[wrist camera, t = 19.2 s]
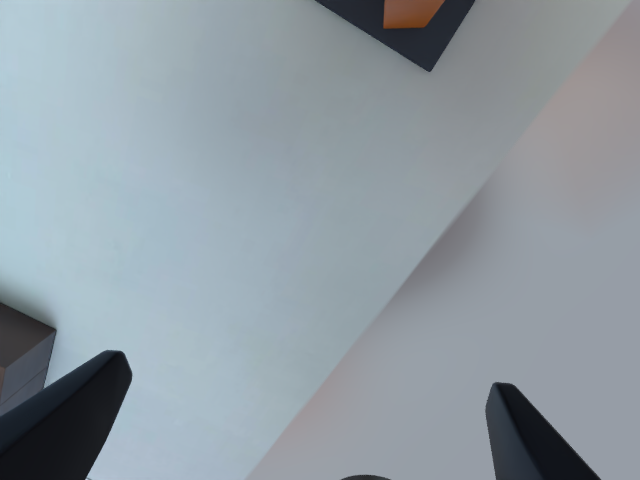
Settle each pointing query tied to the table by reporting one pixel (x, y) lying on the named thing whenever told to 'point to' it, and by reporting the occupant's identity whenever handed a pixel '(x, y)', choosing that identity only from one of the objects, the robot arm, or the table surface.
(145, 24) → the table surface
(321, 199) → the table surface
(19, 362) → the holder
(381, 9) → the coaster
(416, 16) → the block
